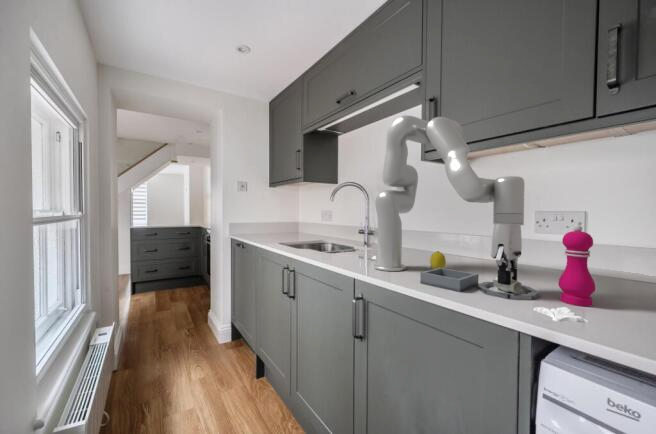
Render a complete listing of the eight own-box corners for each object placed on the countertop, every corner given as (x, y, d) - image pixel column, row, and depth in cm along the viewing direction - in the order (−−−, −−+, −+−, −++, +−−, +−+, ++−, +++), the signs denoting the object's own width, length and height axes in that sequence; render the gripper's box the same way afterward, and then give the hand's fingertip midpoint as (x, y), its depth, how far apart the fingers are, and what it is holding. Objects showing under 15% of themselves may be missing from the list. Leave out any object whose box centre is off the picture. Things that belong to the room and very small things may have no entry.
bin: (420, 283, 94) (420, 272, 94) (440, 277, 102) (440, 267, 102) (459, 292, 84) (459, 280, 84) (478, 285, 92) (478, 274, 92)
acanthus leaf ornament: (533, 313, 69) (533, 305, 69) (562, 313, 69) (562, 305, 69) (557, 325, 62) (557, 316, 62) (590, 325, 62) (590, 316, 61)
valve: (508, 296, 80) (509, 252, 80) (488, 289, 87) (489, 249, 86) (526, 293, 82) (527, 251, 82) (505, 287, 89) (506, 248, 88)
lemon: (443, 274, 107) (444, 252, 107) (428, 272, 110) (428, 251, 110) (446, 271, 112) (447, 250, 112) (432, 269, 115) (432, 249, 115)
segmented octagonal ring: (469, 290, 86) (469, 287, 86) (490, 282, 95) (490, 279, 95) (527, 303, 74) (527, 299, 74) (544, 292, 83) (544, 289, 83)
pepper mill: (554, 301, 75) (555, 224, 75) (562, 296, 80) (564, 223, 79) (591, 309, 70) (593, 226, 69) (598, 303, 74) (600, 225, 74)
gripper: (505, 218, 92) (504, 276, 93) (481, 220, 82) (481, 284, 82) (533, 219, 86) (532, 280, 87) (511, 221, 76) (510, 290, 76)
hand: (507, 282), depth 84 cm, fingers closed on valve, 4 cm apart
